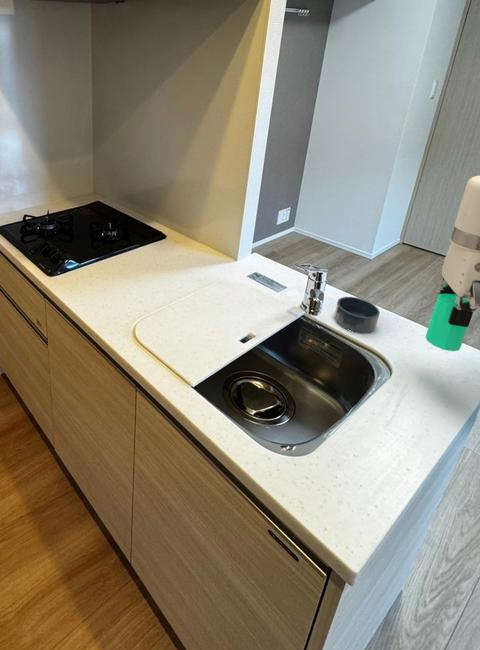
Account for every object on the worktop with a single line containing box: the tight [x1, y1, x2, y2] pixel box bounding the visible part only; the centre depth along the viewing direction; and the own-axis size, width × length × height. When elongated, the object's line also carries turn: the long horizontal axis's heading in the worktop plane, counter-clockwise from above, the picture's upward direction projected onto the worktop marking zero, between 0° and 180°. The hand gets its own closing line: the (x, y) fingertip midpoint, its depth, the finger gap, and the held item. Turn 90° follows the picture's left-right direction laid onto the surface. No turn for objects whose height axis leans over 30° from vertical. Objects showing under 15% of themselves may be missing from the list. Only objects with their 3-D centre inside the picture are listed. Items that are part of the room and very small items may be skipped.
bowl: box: [333, 296, 380, 335], centre depth 113 cm, size 10×10×5 cm
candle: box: [425, 294, 470, 352], centre depth 87 cm, size 6×6×12 cm
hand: (451, 315), depth 87 cm, fingers closed on candle, 5 cm apart
